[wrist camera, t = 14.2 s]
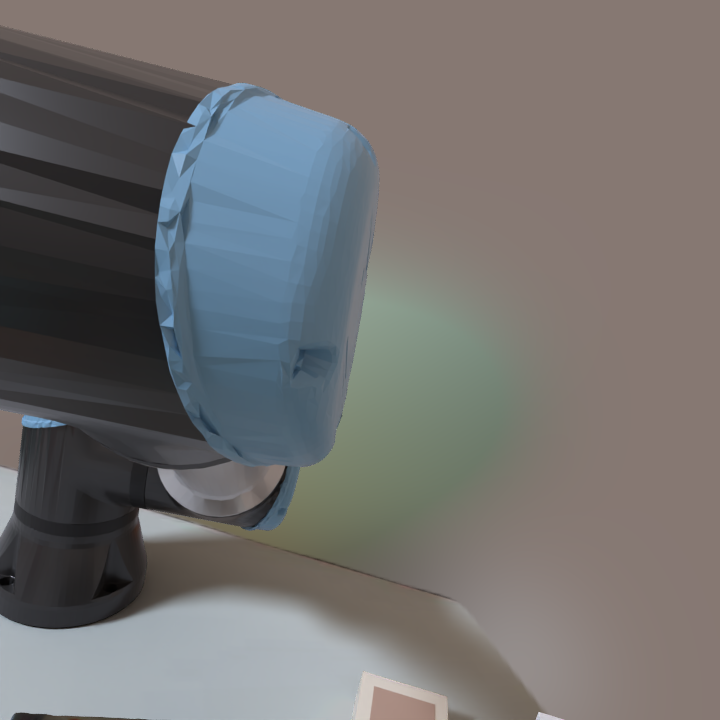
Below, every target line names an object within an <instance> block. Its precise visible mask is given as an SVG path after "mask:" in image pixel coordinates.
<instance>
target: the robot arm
mask: <svg viewBox="0 0 720 720" xmlns="http://www.w3.org/2000/svg"><path fill="white" fill-rule="evenodd" d="M378 195H379V167H378V163H377V159H376V156H375V153H374V151H373V149H372V147H371V145H370V143H369V142H368V141H367V139H366V138H365V137H364V136H363V135H362V134H361V133H360V132H359V131H358V130H357V129H356V128H354V127H353V126H351V125H349V124H347V123H345V122H343V121H341V120H339V119H336V118H333V117H331V116H328V115H324V114H322V113H319V112H316V111H313V110H310V109H307V108H304V107H302V106H299V105H296V104H293V103H290V102H287V101H284V100H283V99H281V98H280V97H279V96H277V95H276V94H274V93H272V92H271V91H269V90H266V89H264V88H262V87H258V86H254V85H250V84H246V83H237V84H234V85H233V84H229V83H225V82H221V81H217V80H213V79H209V78H205V77H201V76H197V75H193V74H190V73H186V72H181V71H177V70H174V69H170V68H166V67H162V66H158V65H154V64H150V63H146V62H143V61H138V60H134V59H131V58H126V57H123V56H119V55H115V54H111V53H107V52H103V51H99V50H95V49H91V48H87V47H84V46H80V45H76V44H72V43H68V42H64V41H60V40H56V39H52V38H48V37H44V36H40V35H37V34H33V33H28V32H25V31H21V30H17V29H13V28H9V27H5V26H1V25H0V410H4V411H9V412H14V413H19V414H24V415H25V416H24V417H23V418H22V425H23V430H22V440H21V449H20V458H19V468H18V477H17V486H16V495H15V504H14V511H13V515H12V516H11V518H10V520H9V522H8V524H7V526H6V528H5V530H4V531H3V533H2V535H1V537H0V614H1V615H3V616H4V617H6V618H8V619H11V620H13V621H16V622H19V623H22V624H26V625H31V626H37V627H49V628H60V627H72V626H79V625H84V624H88V623H92V622H96V621H99V620H102V619H104V618H107V617H109V616H111V615H113V614H115V613H117V612H119V611H120V610H122V609H124V608H125V607H126V606H128V605H129V604H130V603H131V602H132V601H133V600H134V599H135V598H136V597H137V596H138V594H139V593H140V591H141V589H142V587H143V584H144V579H145V573H146V567H147V556H146V551H145V546H144V541H143V537H142V532H141V527H140V522H139V517H138V514H139V508H143V509H150V510H155V511H161V512H166V513H171V514H177V515H182V516H188V517H192V518H198V519H203V520H208V521H214V522H219V523H225V524H230V525H235V526H240V527H241V528H243V529H246V530H255V529H259V530H273V529H275V528H276V527H277V526H278V525H280V523H281V522H282V521H283V519H284V517H285V515H286V512H287V508H288V506H289V505H290V502H291V500H292V497H293V494H294V490H295V487H296V483H297V479H298V474H299V470H300V467H307V466H311V465H314V464H316V463H318V462H320V461H321V460H323V459H324V458H325V457H326V456H327V455H328V454H329V452H330V451H331V449H332V447H333V445H334V443H335V435H336V429H337V427H338V425H339V422H340V419H341V417H342V411H343V406H344V402H345V399H346V394H347V387H348V381H349V376H350V372H351V368H352V363H353V357H354V352H355V346H356V341H357V335H358V330H359V324H360V319H361V313H362V306H363V300H364V293H365V285H366V279H367V267H368V262H369V257H370V253H371V248H372V243H373V236H374V228H375V221H376V214H377V205H378ZM536 720H564V719H561V718H557V717H554V716H551V715H547V714H544V713H541V712H538V715H537V717H536Z"/></svg>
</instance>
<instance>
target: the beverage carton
mask: <svg viewBox="0 0 720 720" xmlns="http://www.w3.org/2000/svg"><path fill="white" fill-rule="evenodd" d="M11 720H146V719H125V718H106V717H79V716H52V715H47V714H29V713H15V714H14V715H13V716H12V718H11Z"/></svg>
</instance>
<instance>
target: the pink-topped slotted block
mask: <svg viewBox="0 0 720 720" xmlns="http://www.w3.org/2000/svg"><path fill="white" fill-rule="evenodd" d="M351 720H448V704H447V696H443V695H440V694H437V693H433V692H430V691H427V690H424V689H420V688H417V687H414V686H410V685H407V684H404V683H401V682H397V681H394V680H391V679H387V678H384V677H381V676H378V675H374V674H371V673H368V672H364V671H363V673H362V677H361V680H360V684H359V688H358V691H357V695H356V698H355V702H354V707H353V713H352V719H351Z"/></svg>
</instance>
